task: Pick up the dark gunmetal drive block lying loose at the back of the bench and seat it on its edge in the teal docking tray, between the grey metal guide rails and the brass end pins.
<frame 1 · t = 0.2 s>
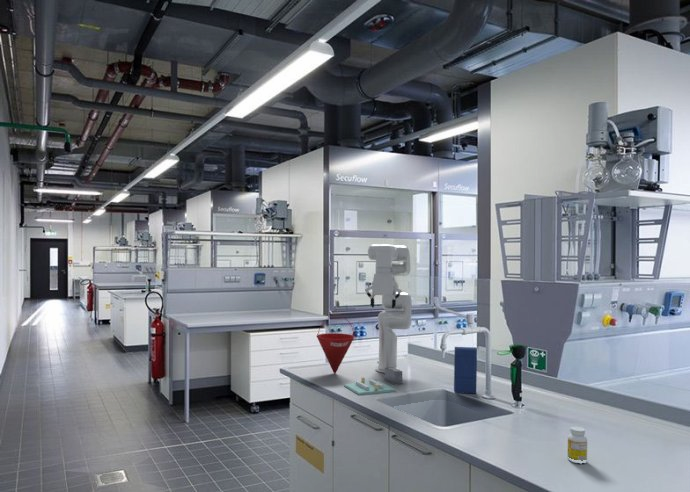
hand: (383, 307, 238), 36 cm above the counter, tool pointing down, fingers open, 9 cm apart
supplement bottle: (577, 461, 152), on the counter
docking tray: (369, 388, 231), on the counter
electronic device: (464, 392, 228), on the counter
fire bucket: (334, 373, 260), on the counter
drive: (393, 382, 245), on the counter
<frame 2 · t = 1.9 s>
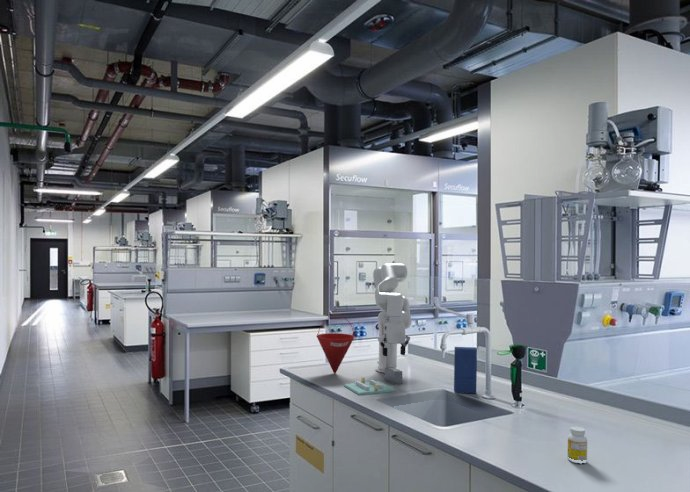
hand: (393, 355, 245), 13 cm above the counter, tool pointing down, fingers open, 9 cm apart
nothing on the counter moved.
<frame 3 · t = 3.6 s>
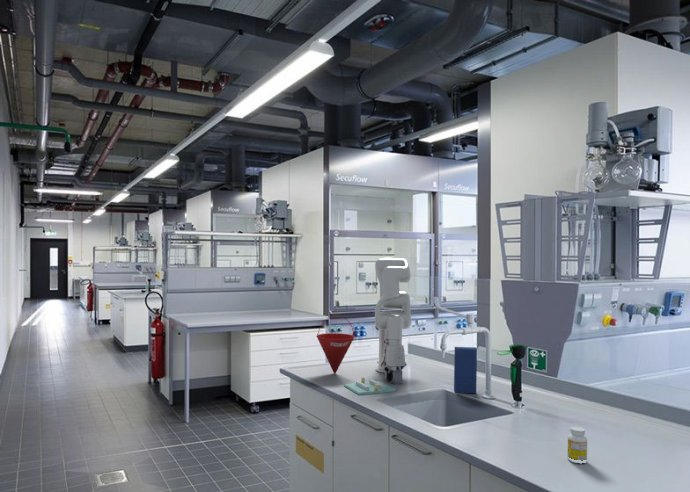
hand: (393, 379, 245), 1 cm above the counter, tool pointing down, fingers closed on drive, 4 cm apart
drive: (393, 381, 245), on the counter, touching gripper
everything else where it was.
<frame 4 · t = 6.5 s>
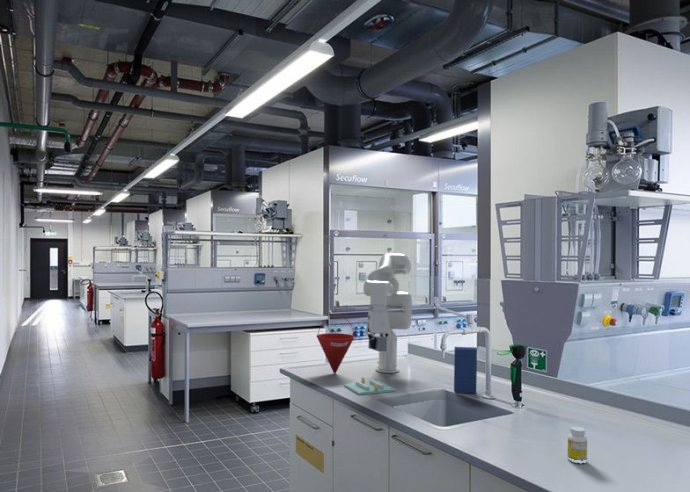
hand: (377, 347, 235), 18 cm above the counter, tool pointing down, fingers closed on drive, 4 cm apart
drive: (377, 349, 235), point 17 cm above the counter, touching gripper
everything else where it was.
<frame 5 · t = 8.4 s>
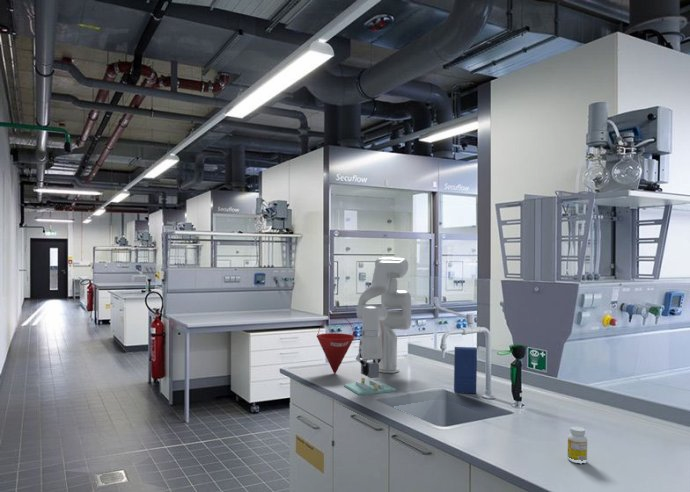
hand: (369, 373, 231), 7 cm above the counter, tool pointing down, fingers closed on drive, 4 cm apart
drive: (369, 375, 231), point 6 cm above the counter, touching gripper
everything else where it was.
when the fingers open (4 cm above the counter, at t = 9.7 s): drive drops 2 cm, resting on docking tray.
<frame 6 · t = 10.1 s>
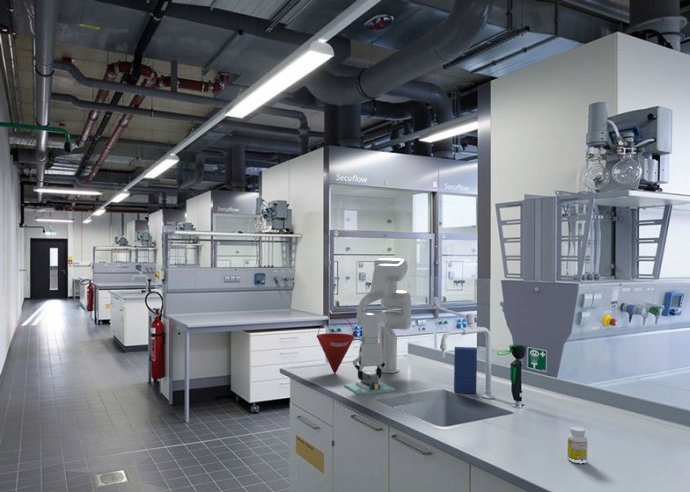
hand: (369, 378, 231), 5 cm above the counter, tool pointing down, fingers open, 8 cm apart
drive: (369, 386, 231), point 1 cm above the counter, touching docking tray
everything else where it was.
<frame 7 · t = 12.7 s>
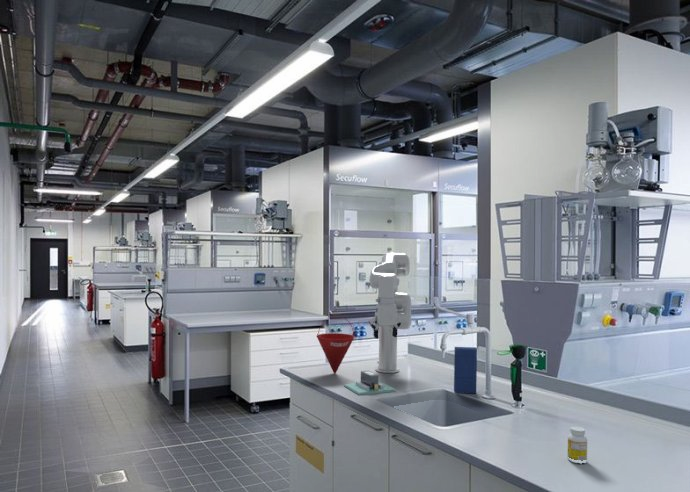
hand: (385, 337, 239), 22 cm above the counter, tool pointing down, fingers open, 9 cm apart
nothing on the counter moved.
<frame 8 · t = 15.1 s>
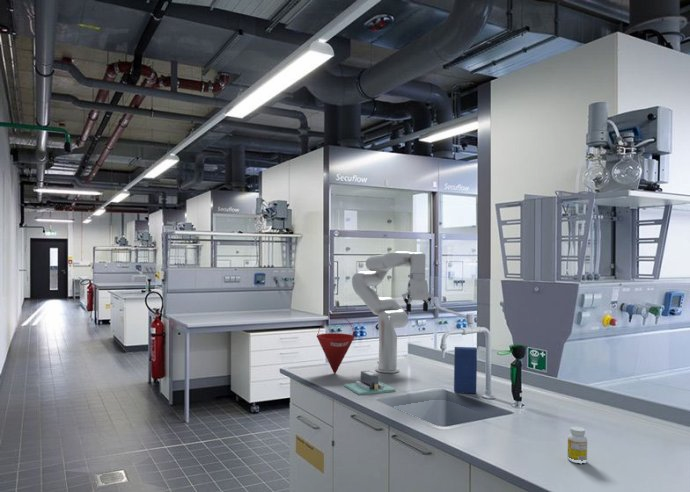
hand: (417, 311, 254), 33 cm above the counter, tool pointing down, fingers open, 9 cm apart
nothing on the counter moved.
at the end: drive 0.0 cm off-centre on the docking tray, point 1.0 cm above the docking tray's base; drive tilted 0°; the gripper is holding nothing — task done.
